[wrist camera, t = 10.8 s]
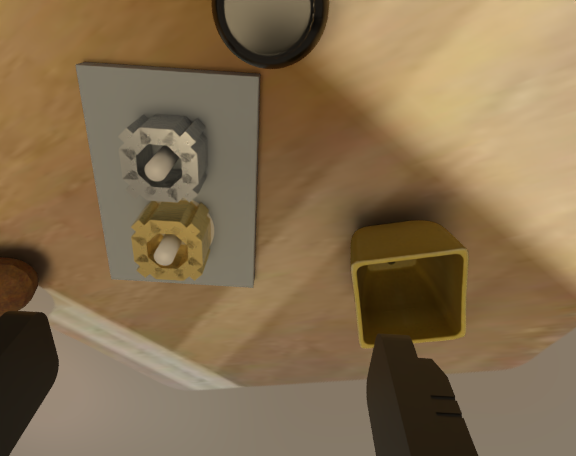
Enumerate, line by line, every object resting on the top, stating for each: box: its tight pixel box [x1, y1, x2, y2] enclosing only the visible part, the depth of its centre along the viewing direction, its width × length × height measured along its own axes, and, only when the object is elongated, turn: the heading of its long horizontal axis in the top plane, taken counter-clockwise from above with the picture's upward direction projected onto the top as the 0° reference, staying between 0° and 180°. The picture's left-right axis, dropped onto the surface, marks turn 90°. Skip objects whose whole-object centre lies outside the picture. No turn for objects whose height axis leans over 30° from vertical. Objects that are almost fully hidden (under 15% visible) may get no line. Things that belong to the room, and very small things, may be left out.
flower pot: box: [351, 220, 469, 348], centre depth 38 cm, size 9×9×9 cm
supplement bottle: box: [212, 0, 329, 69], centre depth 27 cm, size 7×7×12 cm
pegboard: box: [76, 62, 260, 288], centre depth 36 cm, size 14×20×6 cm
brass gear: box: [131, 200, 211, 281], centre depth 38 cm, size 6×6×4 cm
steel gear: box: [118, 114, 208, 203], centre depth 34 cm, size 6×6×4 cm
